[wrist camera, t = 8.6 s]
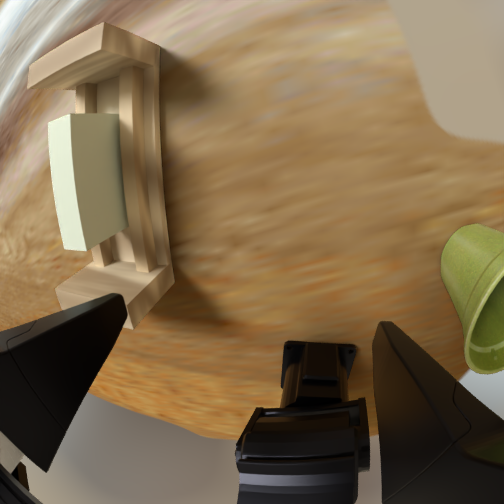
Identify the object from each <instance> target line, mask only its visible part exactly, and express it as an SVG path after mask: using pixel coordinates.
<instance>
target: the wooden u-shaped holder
mask: <svg viewBox="0 0 504 504" xmlns="http://www.w3.org/2000/svg"><path fill="white" fill-rule="evenodd" d="M159 72H160V46H159V45H157V44H154V43H152V42H150V41H148V40H146V39H144V38H142V37H139V36H137V35H135V34H133V33H130V32H128V31H126V30H123V29H121V28H118V27H116V26H113V25H111V24H108V23H106V22H103V23H101V24H99V25H97V26H95V27H93V28H91V29H89V30H87V31H85V32H83V33H81V34H79V35H77V36H76V37H74V38H72V39H70V40H68V41H67V42H65V43H63V44H62V45H60V46H58V47H57V48H55V49H54V50H52V51H50V52H49V53H47V54H46V55H44V56H43V57H41V58H40V59H38V60H37V61H36V62H34V63H33V64H31V65H30V66H29V76H28V88H27V89H63V90H76V114H78V113H110V114H119V122H120V146H121V161H122V173H123V183H124V193H125V201H126V209H127V216H128V223H129V227H127V228H125V229H123V230H122V231H120V232H118V233H116V234H115V235H113V236H111V237H109V238H108V239H106V240H104V241H103V242H101V243H99V244H98V245H96V246H94V247H93V248H91V250H92V255H93V259H94V261H93V262H92V263H90V264H89V265H87V266H86V267H84V268H83V269H81V270H80V271H79V272H77V273H76V274H74V275H73V276H71V277H70V278H69V279H67V280H66V281H64V282H63V283H62V284H60V285H59V286H58V287H56V288H55V291H56V294H57V297H58V300H59V303H60V306H61V308H62V310H65V309H68V308H71V307H74V306H76V305H79V304H82V303H85V302H88V301H90V300H93V299H96V298H99V297H102V296H104V295H107V294H110V293H118V294H121V295H122V296H123V297H124V301H125V304H126V308H127V312H128V317H127V320H126V322H125V324H124V326H123V327H125V328H129V329H133V330H134V328H135V327H136V326H137V325H138V324H139V323H140V321H141V320H142V319H143V318H144V317H145V316H146V315H147V313H148V312H149V311H150V310H151V309H152V308H153V306H154V305H155V304H156V303H157V302H158V301H159V300H160V299H161V297H162V296H163V295H164V294H165V293H166V292H167V291H168V289H169V288H170V287H171V286H172V285H173V284H174V283H175V280H174V274H173V267H172V260H171V253H170V245H169V237H168V229H167V220H166V210H165V200H164V189H163V176H162V161H161V143H160V112H159Z"/></svg>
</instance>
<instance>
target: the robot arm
mask: <svg viewBox="0 0 504 504" xmlns="http://www.w3.org/2000/svg"><path fill="white" fill-rule="evenodd" d="M127 317H128V312H127V308H126V304H125V301H124V297H123V296H122V295H121V294H118V293H110V294H107V295H104V296H102V297H99V298H96V299H93V300H90V301H88V302H85V303H82V304H79V305H76V306H74V307H71V308H68V309H65V310H62V311H60V312H57V313H54V314H51V315H48V316H46V317H43V318H40V319H38V320H34V321H32V322H29V323H26V324H23V325H20V326H17V327H14V328H11V329H7V330H4V331H1V332H0V504H42V503H41V502H40V501H39V500H38V499H37V498H36V497H34V496H33V495H32V494H31V493H30V492H29V485H28V479H27V473H26V466H25V465H24V464H23V463H22V462H21V461H20V460H21V459H22V458H23V456H24V455H26V456H27V457H28V458H29V459H30V460H31V461H32V462H33V463H35V464H36V465H37V466H38V467H40V468H41V469H42V470H43V471H45V472H46V473H47V471H48V470H49V468H50V466H51V463H52V461H53V459H54V457H55V455H56V453H57V450H58V448H59V446H60V444H61V442H62V440H63V438H64V436H65V434H66V431H67V429H68V428H69V426H70V424H71V422H72V420H73V418H74V416H75V414H76V412H77V410H78V408H79V406H80V405H81V403H82V400H83V399H84V397H85V395H86V394H87V392H88V390H89V388H90V386H91V385H92V383H93V381H94V379H95V378H96V376H97V374H98V372H99V371H100V369H101V367H102V366H103V364H104V362H105V360H106V359H107V357H108V355H109V354H110V352H111V350H112V348H113V346H114V344H115V342H116V340H117V338H118V336H119V334H120V332H121V330H122V328H123V326H124V324H125V322H126V320H127ZM288 346H292V347H288ZM351 349H352V350H351ZM349 350H351V351H349ZM372 353H373V382H374V395H375V403H376V411H377V420H378V430H379V442H380V456H381V476H382V504H504V420H503V419H502V418H500V417H499V416H498V415H496V414H495V413H494V412H493V411H492V410H490V409H489V408H488V407H486V406H485V405H484V404H483V403H482V402H481V401H479V400H478V399H477V398H476V397H475V396H473V395H472V394H471V393H470V392H469V391H468V390H467V389H466V388H465V387H463V385H461V384H460V383H459V382H458V381H457V382H456V379H455V378H454V377H453V376H452V375H451V374H450V373H449V372H447V371H446V370H445V369H444V368H443V367H442V366H441V365H440V364H439V363H438V362H437V361H435V360H434V359H433V358H432V357H431V356H430V355H429V354H428V353H427V352H426V351H424V350H423V349H422V348H421V347H420V346H419V345H418V344H417V343H415V342H414V341H413V340H412V339H411V338H410V337H409V336H408V335H406V334H405V333H404V332H403V331H402V330H401V329H400V328H398V327H397V326H396V325H395V324H394V323H393V322H391V321H380V322H379V324H378V326H377V329H376V333H375V336H374V340H373V344H372ZM355 355H356V346H355V345H352V344H329V343H313V342H299V341H287V342H285V344H284V352H283V364H282V376H281V388H282V389H283V393H282V399H281V404H280V408H263V407H256V409H255V411H254V413H253V415H252V416H251V418H250V420H249V422H248V424H247V425H246V427H245V429H244V431H243V433H242V434H241V436H240V438H239V440H238V442H237V443H236V451H235V456H236V464H237V468H238V471H239V473H240V484H239V494H238V501H237V504H354V503H355V502H356V500H357V497H358V473H359V472H366V471H369V469H370V438H369V426H368V417H367V408H366V400H365V397H364V398H358V400H352V401H349V399H348V381H347V380H348V377H349V374H350V371H351V368H352V365H353V361H354V358H355Z"/></svg>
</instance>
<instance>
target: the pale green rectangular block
mask: <svg viewBox="0 0 504 504" xmlns="http://www.w3.org/2000/svg"><path fill="white" fill-rule="evenodd" d="M48 137H49V154H50V166H51V176H52V184H53V191H54V198H55V204H56V210H57V216H58V221H59V226H60V231H61V236H62V240H63V244H64V249H69V250H79V251H88V250H89V249H91V248H93V247H94V246H96V245H98V244H99V243H101V242H103V241H104V240H106V239H108V238H109V237H111V236H113V235H115V234H116V233H118V232H120V231H122V230H123V229H125V228H127V227H129V223H128V216H127V209H126V201H125V193H124V183H123V173H122V161H121V146H120V122H119V114H110V113H78V114H68V115H66V116H63V117H61V118H58V119H56V120H54V121H51V122H49V123H48Z"/></svg>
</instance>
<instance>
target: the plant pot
mask: <svg viewBox="0 0 504 504" xmlns="http://www.w3.org/2000/svg"><path fill="white" fill-rule="evenodd" d="M441 278H442V280H443V282H444V284H445V287H446V289H447V291H448V293H449V295H450V297H451V300H452V302H453V304H454V306H455V309H456V311H457V313H458V316H459V318H460V321H461V323H462V326H463V336H464V356H465V360H466V362H467V365H468V366H469V368H470V369H471V370H473V371H475V372H476V373H479V374H493V373H496V372H499V371H502V370H504V233H503V232H500V231H498V230H495V229H492V228H490V227H487V226H484V225H482V224H478V223H476V224H472V225H467V226H463V227H461V228H460V229H458V230H457V231H456V232H455V233H454V234H453V235H452V236H451V238H450V239H449V240H448V242H447V244H446V245H445V247H444V250H443V252H442V256H441Z"/></svg>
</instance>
